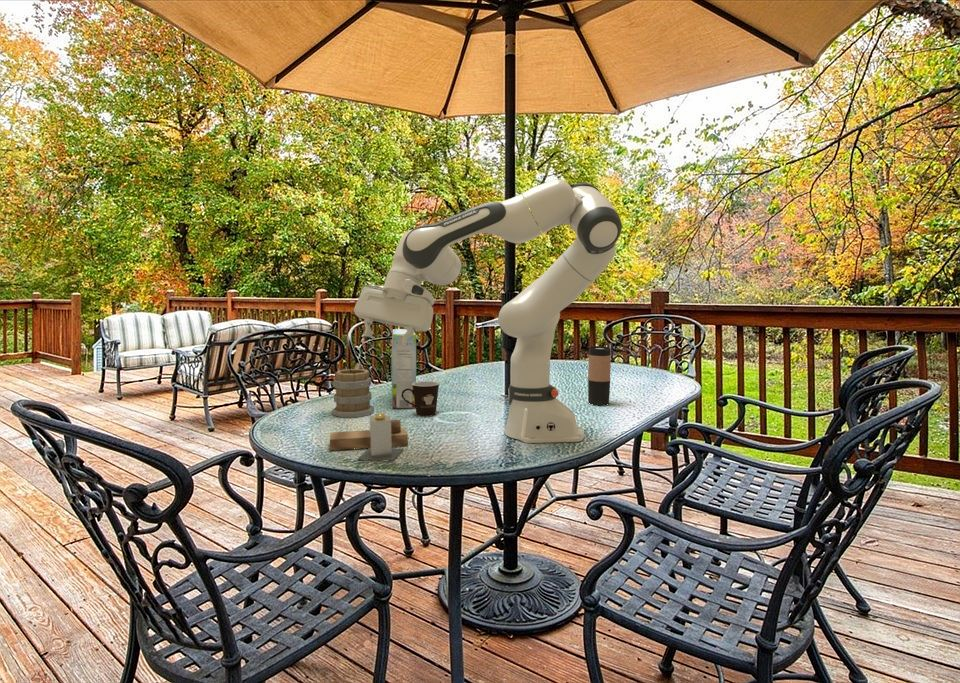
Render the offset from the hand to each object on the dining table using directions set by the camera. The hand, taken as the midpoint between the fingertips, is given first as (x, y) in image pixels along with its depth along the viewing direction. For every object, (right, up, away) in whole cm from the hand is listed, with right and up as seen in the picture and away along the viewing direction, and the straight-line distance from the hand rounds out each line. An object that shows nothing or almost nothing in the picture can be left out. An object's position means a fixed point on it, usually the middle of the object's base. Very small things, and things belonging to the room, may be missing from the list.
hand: (384, 340), depth 139 cm
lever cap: (-1, -29, +2) cm, 29 cm away
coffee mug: (+5, -24, +45) cm, 51 cm away
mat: (-1, -29, +2) cm, 29 cm away
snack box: (-3, -22, +62) cm, 66 cm away
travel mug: (+66, -23, +58) cm, 91 cm away
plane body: (-6, -28, +11) cm, 31 cm away
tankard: (-18, -24, +50) cm, 58 cm away
